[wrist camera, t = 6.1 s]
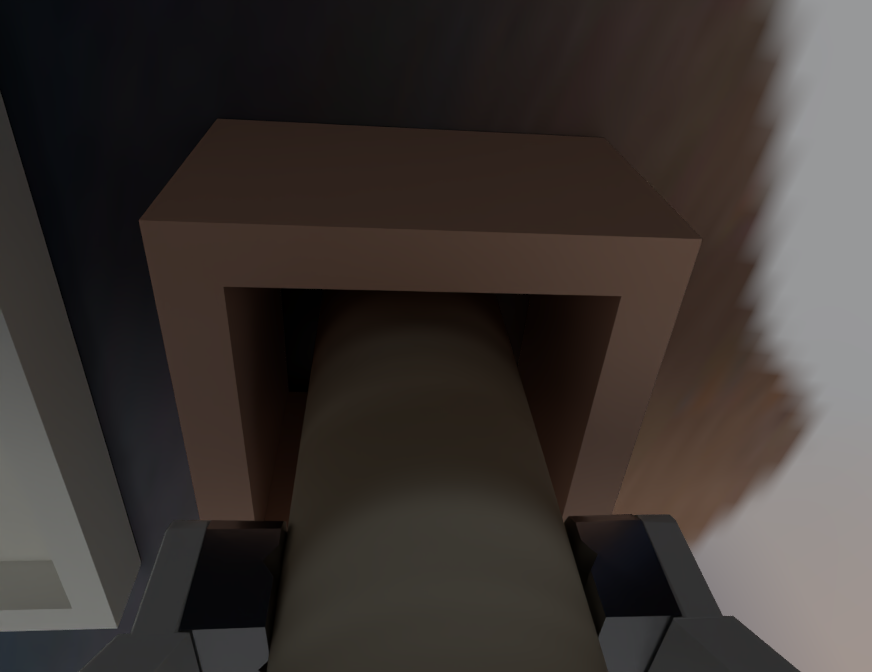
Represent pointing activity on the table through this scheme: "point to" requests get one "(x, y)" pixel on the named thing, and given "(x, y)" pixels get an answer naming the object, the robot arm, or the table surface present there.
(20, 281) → the tray
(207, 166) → the brown square sleeve
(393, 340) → the olive grey ringed cylinder
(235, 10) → the table surface
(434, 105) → the table surface
